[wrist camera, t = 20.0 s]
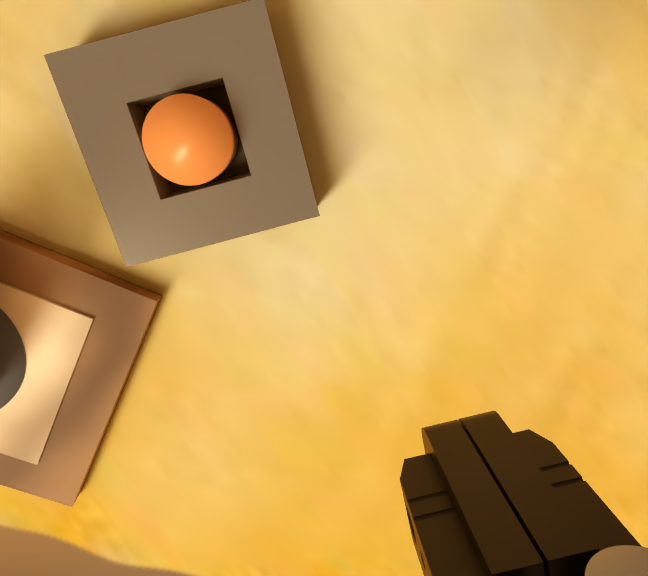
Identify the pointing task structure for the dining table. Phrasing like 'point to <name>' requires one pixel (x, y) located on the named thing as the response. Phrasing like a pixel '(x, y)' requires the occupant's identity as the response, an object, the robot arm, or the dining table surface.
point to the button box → (183, 78)
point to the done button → (189, 139)
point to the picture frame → (61, 364)
